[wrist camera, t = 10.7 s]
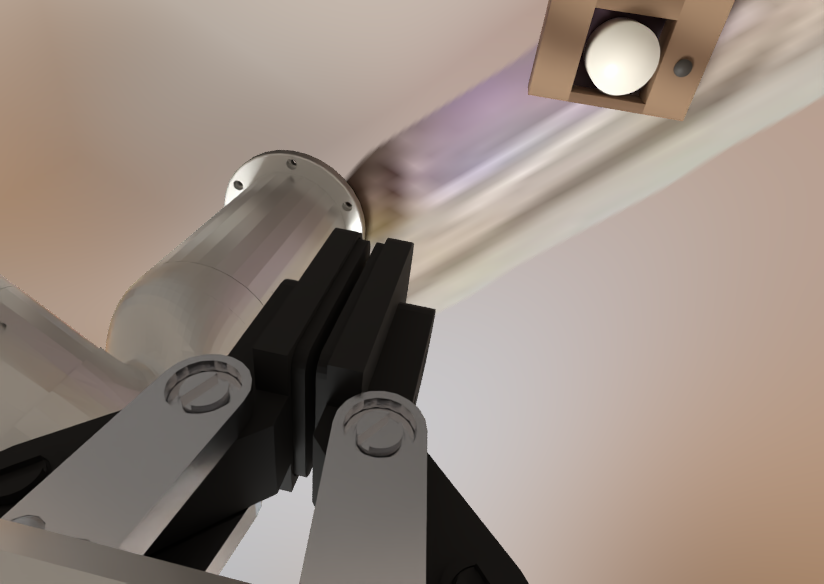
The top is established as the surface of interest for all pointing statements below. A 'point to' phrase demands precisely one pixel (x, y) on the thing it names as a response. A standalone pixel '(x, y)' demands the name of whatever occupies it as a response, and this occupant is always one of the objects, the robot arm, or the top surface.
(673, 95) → the panel
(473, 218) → the top surface
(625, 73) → the button
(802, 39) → the top surface
